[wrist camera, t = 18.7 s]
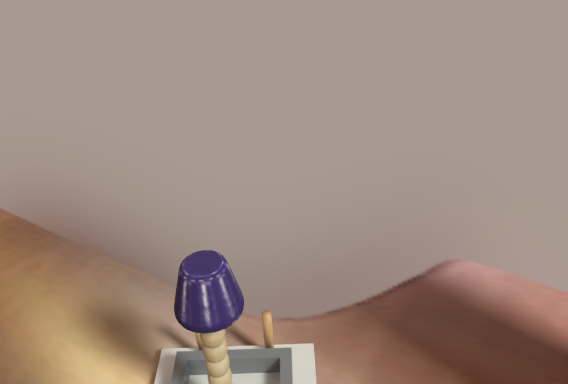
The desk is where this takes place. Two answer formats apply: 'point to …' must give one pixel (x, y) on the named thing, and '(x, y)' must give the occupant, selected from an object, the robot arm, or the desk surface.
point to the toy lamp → (209, 307)
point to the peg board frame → (242, 362)
